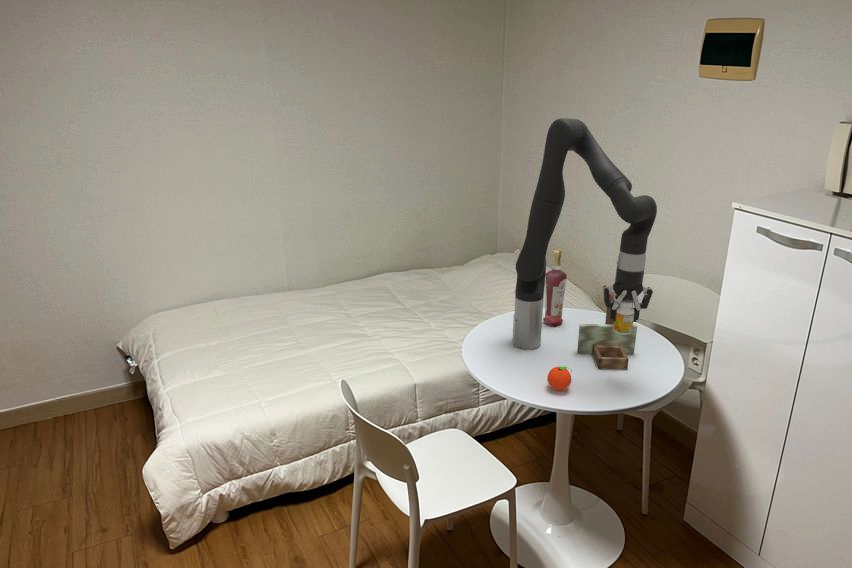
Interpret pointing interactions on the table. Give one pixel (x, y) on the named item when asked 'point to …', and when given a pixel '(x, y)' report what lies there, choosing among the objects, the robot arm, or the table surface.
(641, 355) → the table surface
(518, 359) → the table surface
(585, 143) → the robot arm
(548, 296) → the liquor
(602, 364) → the board
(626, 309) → the supplement bottle
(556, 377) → the clementine
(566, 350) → the table surface
